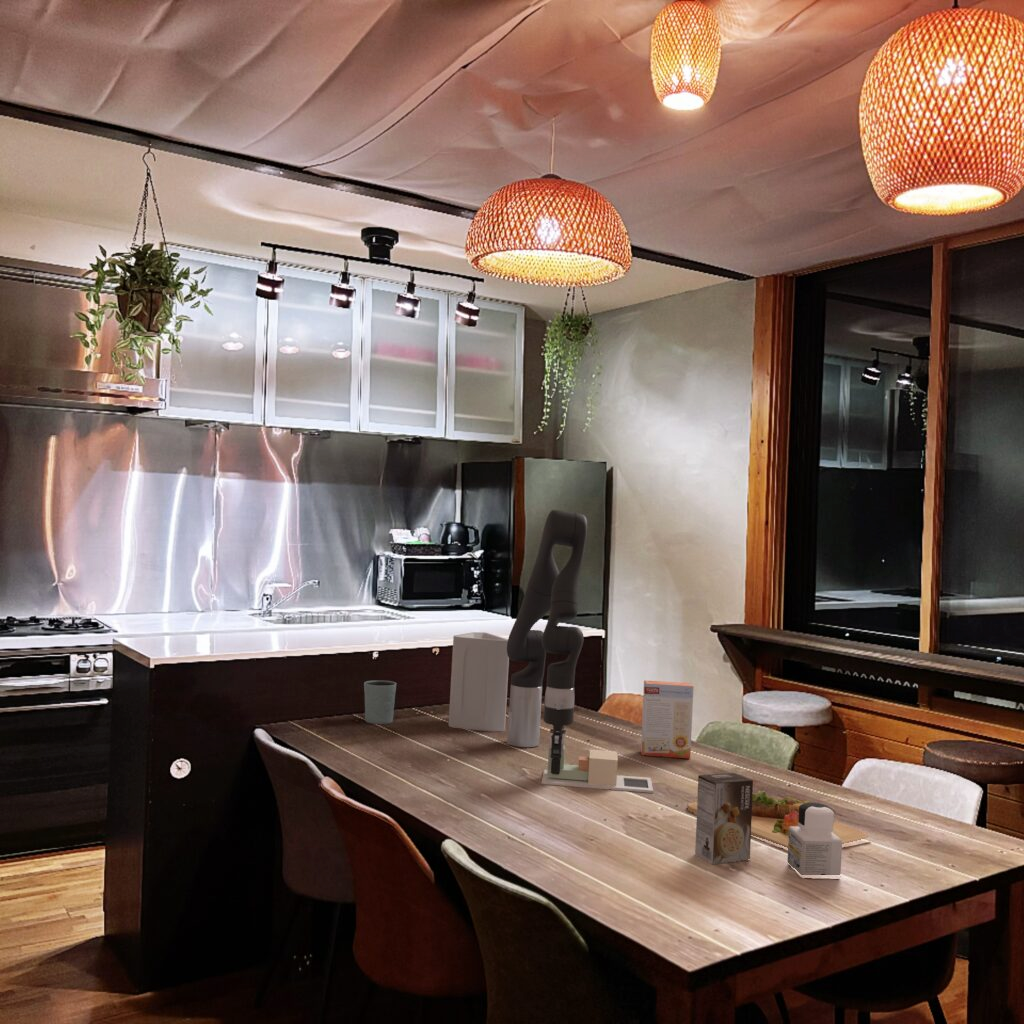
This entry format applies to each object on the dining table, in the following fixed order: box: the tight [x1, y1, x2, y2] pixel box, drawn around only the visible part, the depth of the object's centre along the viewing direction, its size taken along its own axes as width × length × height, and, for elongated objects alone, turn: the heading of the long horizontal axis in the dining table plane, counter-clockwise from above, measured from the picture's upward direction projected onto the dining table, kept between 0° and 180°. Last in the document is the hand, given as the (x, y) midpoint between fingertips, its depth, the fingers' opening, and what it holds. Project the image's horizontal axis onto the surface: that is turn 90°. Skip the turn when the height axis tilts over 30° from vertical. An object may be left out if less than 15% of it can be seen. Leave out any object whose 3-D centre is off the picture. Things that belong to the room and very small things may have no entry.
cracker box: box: [640, 680, 694, 760], centre depth 276 cm, size 14×6×21 cm, turn 84°
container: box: [786, 802, 843, 875], centre depth 187 cm, size 8×8×13 cm
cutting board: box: [686, 790, 870, 848], centre depth 216 cm, size 35×23×8 cm
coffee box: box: [694, 772, 754, 865], centre depth 192 cm, size 9×6×16 cm
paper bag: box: [448, 631, 510, 733], centre depth 302 cm, size 19×15×28 cm
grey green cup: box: [363, 679, 397, 725], centre depth 301 cm, size 10×10×12 cm
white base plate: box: [541, 749, 654, 794], centre depth 243 cm, size 28×12×7 cm, turn 84°
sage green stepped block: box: [546, 744, 590, 781], centre depth 244 cm, size 14×6×7 cm, turn 84°
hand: (555, 770), depth 244 cm, fingers closed on sage green stepped block, 6 cm apart
